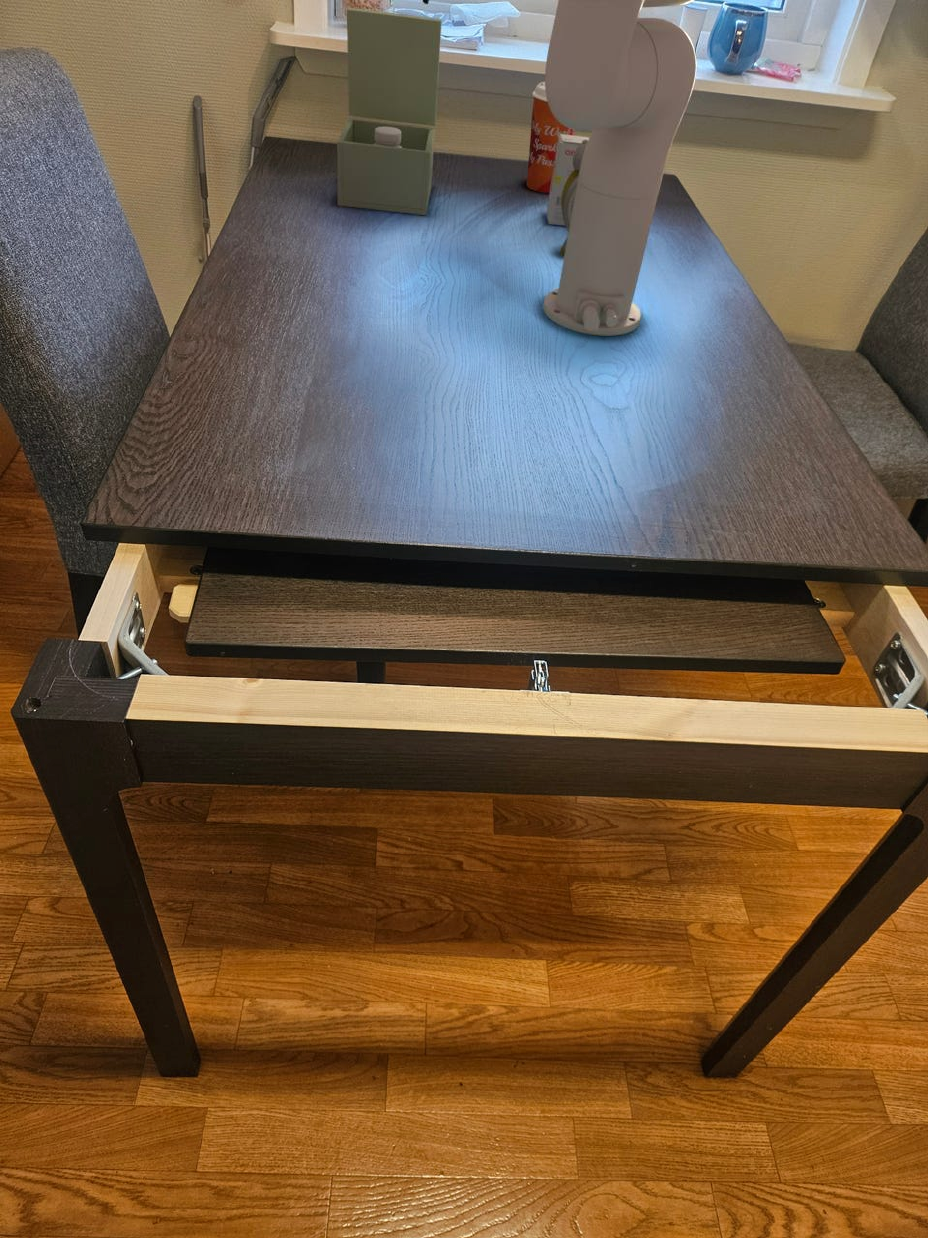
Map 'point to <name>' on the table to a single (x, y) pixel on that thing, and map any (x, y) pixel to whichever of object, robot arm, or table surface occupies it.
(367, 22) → the bin lid
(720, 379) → the table surface
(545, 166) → the coffee cup
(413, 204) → the bin
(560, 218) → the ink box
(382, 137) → the pill bottle
